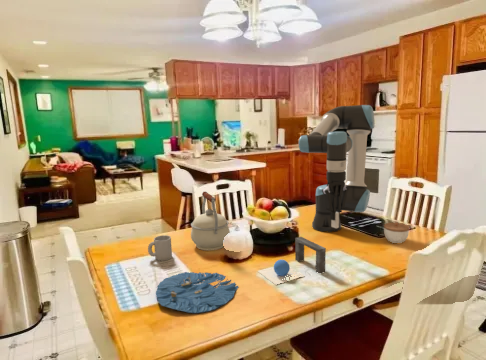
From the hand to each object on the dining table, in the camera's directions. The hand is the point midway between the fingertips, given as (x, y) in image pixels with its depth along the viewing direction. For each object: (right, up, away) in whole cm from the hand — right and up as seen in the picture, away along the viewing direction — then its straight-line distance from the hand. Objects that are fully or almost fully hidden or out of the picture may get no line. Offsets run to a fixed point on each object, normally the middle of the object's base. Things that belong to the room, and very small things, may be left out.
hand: (334, 227), depth 140 cm
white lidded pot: (+34, -10, +20) cm, 41 cm away
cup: (-74, -15, +9) cm, 76 cm away
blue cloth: (-55, -20, -20) cm, 62 cm away
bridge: (-11, -15, -3) cm, 19 cm away
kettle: (-54, -12, +23) cm, 60 cm away
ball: (-23, -14, -11) cm, 29 cm away
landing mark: (-23, -17, -10) cm, 30 cm away
